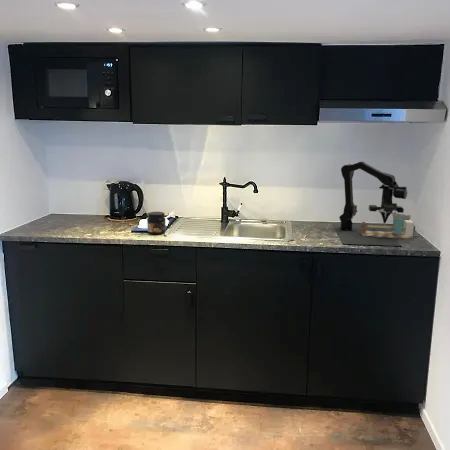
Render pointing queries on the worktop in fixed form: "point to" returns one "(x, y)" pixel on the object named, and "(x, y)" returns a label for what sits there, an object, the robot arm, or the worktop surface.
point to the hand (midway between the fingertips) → (384, 223)
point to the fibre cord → (382, 226)
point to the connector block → (408, 227)
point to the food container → (403, 217)
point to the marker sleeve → (397, 226)
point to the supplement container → (156, 223)
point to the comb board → (381, 233)
